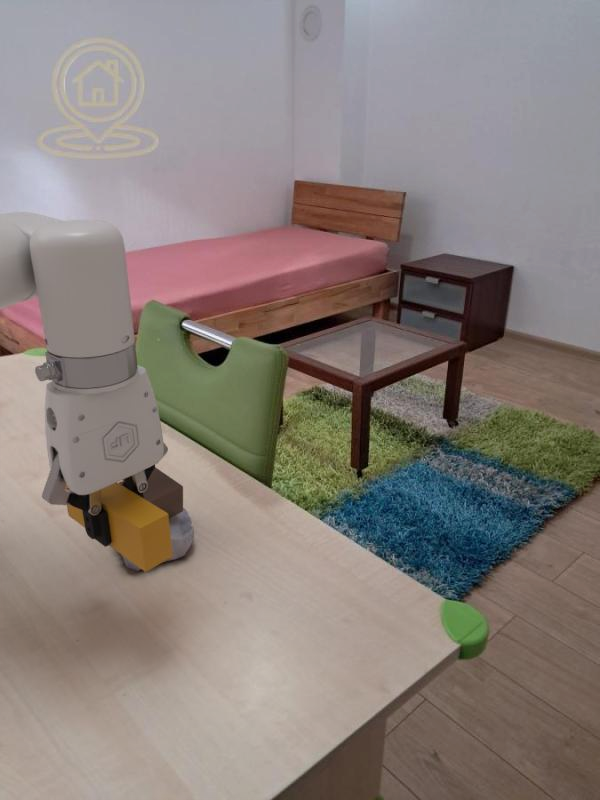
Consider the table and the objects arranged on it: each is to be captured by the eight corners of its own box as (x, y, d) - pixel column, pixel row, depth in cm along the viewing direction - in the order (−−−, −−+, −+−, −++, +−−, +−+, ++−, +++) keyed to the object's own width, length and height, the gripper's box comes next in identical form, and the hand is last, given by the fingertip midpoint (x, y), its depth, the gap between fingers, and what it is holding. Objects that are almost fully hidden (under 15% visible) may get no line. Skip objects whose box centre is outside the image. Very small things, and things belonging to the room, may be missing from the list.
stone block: (174, 517, 91) (102, 523, 86) (178, 488, 89) (106, 492, 84) (201, 568, 81) (122, 578, 76) (207, 537, 79) (127, 545, 74)
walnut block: (116, 509, 81) (115, 483, 80) (155, 490, 86) (154, 466, 84) (144, 531, 78) (143, 505, 76) (183, 511, 82) (183, 486, 80)
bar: (145, 572, 59) (140, 528, 57) (68, 516, 68) (61, 475, 66) (173, 556, 62) (168, 513, 60) (94, 503, 70) (88, 464, 68)
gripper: (26, 403, 49) (62, 588, 57) (192, 350, 60) (203, 511, 68) (-16, 378, 54) (22, 553, 61) (145, 333, 65) (160, 485, 72)
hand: (117, 529), depth 65 cm, fingers closed on bar, 3 cm apart
